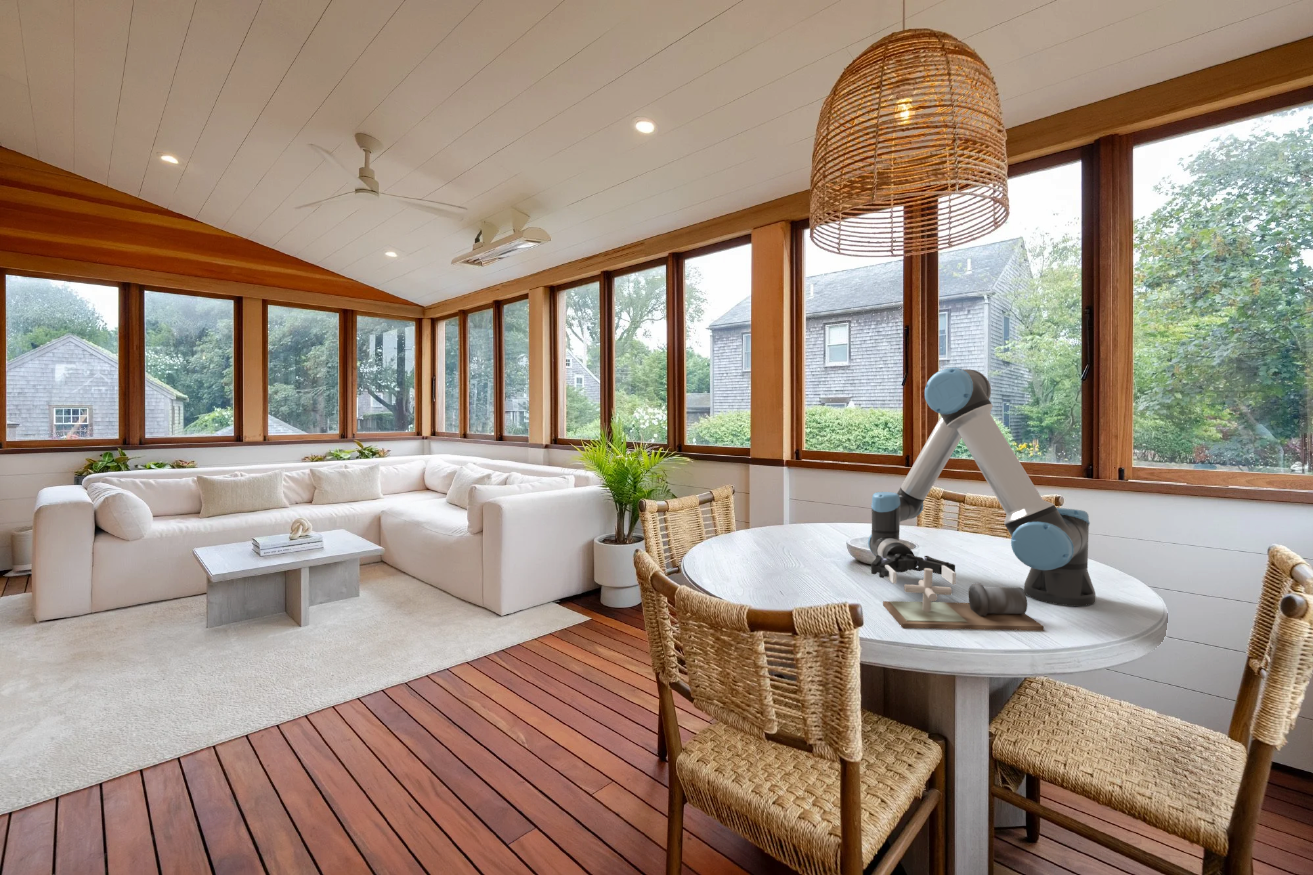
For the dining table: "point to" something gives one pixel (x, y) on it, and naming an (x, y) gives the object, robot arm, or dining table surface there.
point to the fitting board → (969, 611)
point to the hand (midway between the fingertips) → (924, 578)
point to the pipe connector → (927, 589)
